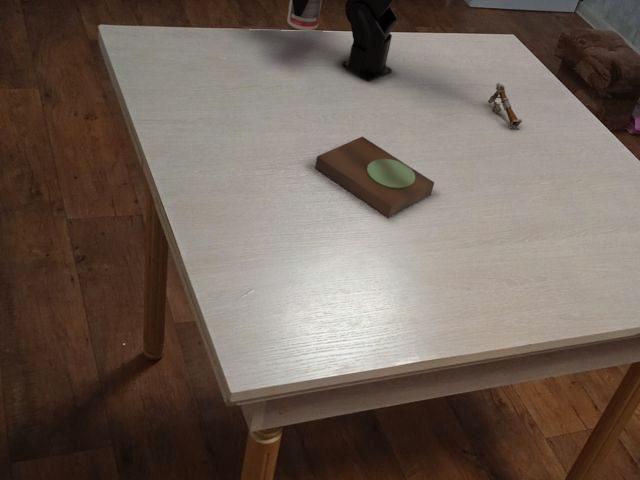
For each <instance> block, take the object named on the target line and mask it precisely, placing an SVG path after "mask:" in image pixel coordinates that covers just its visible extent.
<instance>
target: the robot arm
mask: <svg viewBox="0 0 640 480" xmlns="http://www.w3.org/2000/svg"><path fill="white" fill-rule="evenodd" d="M309 1H310V0H292V3H293V9H294V14H295V16H298V17H301V16H302V14H303V12H304V10H305V8H306V7H307V5H308V3H309ZM394 1H395V0H346V2H345V4H344V10H345V11H344V13H345V16H346V19H347V21H348V23H349V24H350V26H351V33H352V39H353V41H352V44H351V47H350V51H349V52H350V53H349V58H348V59H346V60H343V61H342V62H341V66H343V67H344V68H346V69H347V70H349V71H351V72H352V73H354V74H355V75H357V76H359V77H361V78H362V79H363V80H365V81H368V82H372V81H373V80H376V79H379V78H381V77H384V76H387V75H389V74H391V73H392V72H393V69H392V68H391V67H389V66H387V61H388V56H389V51H390V46H391V42H392V37H393V35H392V34H391V33H392V31H394V30H395V28H396V26H397V25H398V23H399V18H398V16H397V14H396V13H395V11H394V10H393V8H392V6H391V5H392V4H393V2H394Z"/></svg>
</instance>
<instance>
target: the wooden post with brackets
mask: <svg viewBox="0 0 640 480" xmlns="http://www.w3.org/2000/svg"><path fill="white" fill-rule="evenodd" d="M495 85H496V87H495V89H496V91H495V92H494V93H493V94H492V95H491V96H490V97H489V98H488V100H487V102H488V104H492V105H493V106H492V109H493V110H494V113H495V114H497V115H501V114H502V110H504V111H505V113H506V116H507V119H508V121H509V124H508V129H512V128H517V127H518V126H519V125H520V124H521V123H522V122H523V120H522V118H518V116H517V115H516V114H515V112H514V111H513V108H512V105H511V102H510V99H509V97H507V94H506V90H505V86H504V84H501V83H500V82H496V84H495ZM497 99H500V100H501V101H500V103H498V102H497V101H496V100H497ZM501 105H502V107H503V109H502V108H501Z"/></svg>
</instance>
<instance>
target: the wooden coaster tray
mask: <svg viewBox="0 0 640 480" xmlns="http://www.w3.org/2000/svg"><path fill="white" fill-rule="evenodd" d="M314 169H316V170H317V171H318V172H320V173H322V174H323V175H325V176H326V177H327V178H329V179H330V180H332V181H333V182H335V183H336V184H338V185H339V186H341V187H342V188H344V189H345V190H347V191H348V192H349V193H351V194H353V195H354V196H355V197H357V198H358V199H360V200H361V201H363V202H364V203H366V204H368V205H369V206H370V207H372V208H373V209H374V210H376V211H378V212H379V213H381V214H382V215H383V216H385V217H386V218H390V217H393V216H394V215H396V214H397V213H399V212H401V211H402V210H405V209H407V208H408V207H410V206H412V205H414V204H416V203H418V202H419V201H421V200H423V199H424V198H426V197H428V196H430V195H432V193H433V189H434V186H435V182H434V181H433V180H432V179H430V178H428V177H427V176H425V175H424V174H422V173H421V172H419V171H417V170H416V169H414V168H413V167H411V166H409V165H408V164H406V163H405V162H404V161H401V160H400V159H398V158H397V157H395V156H394V155H393V154H391V153H389V152H388V151H386V150H384V149H383V148H381V147H380V146H378V145H377V144H375V143H374V142H372V141H370V140H369V139H367V138H366V137H365V136H361V137H358V138H356V139H353V140H351V141H348V142H346V143H344V144H342V145H339V146H337V147H335V148H333V149H330V150H328V151H326V152H324V153H321V154H318V155H317V156H316V161H315V165H314Z"/></svg>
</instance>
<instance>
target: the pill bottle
mask: <svg viewBox="0 0 640 480" xmlns="http://www.w3.org/2000/svg"><path fill="white" fill-rule="evenodd" d="M322 4H323V0H310V1H309V3H308V5H307V7H306V8H305V10H304V12H303V14H302V16H301V17H298V16H295V14H294V9H293V3H292V0H288V8H287V16H286V22H287V24H288V25H289V26H291V27H293V28H295V29H297V30H300V31H306V32H307V31H314V30H317V28H318V27H319V22H320V16H321V9H322Z"/></svg>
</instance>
